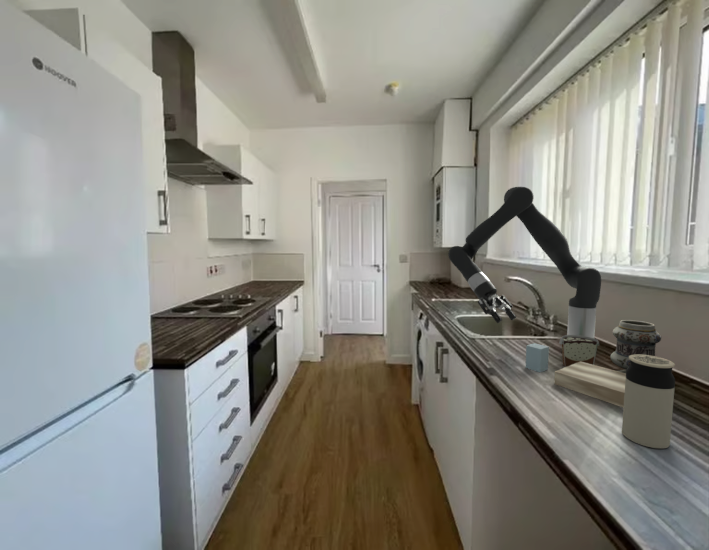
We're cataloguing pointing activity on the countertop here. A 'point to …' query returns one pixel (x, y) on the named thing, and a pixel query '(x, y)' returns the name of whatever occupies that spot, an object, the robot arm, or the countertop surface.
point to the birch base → (593, 382)
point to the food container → (578, 349)
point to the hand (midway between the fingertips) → (507, 320)
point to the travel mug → (648, 401)
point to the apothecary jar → (633, 341)
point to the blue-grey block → (537, 357)
